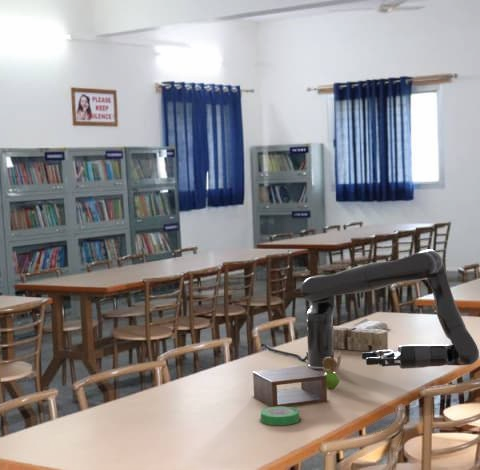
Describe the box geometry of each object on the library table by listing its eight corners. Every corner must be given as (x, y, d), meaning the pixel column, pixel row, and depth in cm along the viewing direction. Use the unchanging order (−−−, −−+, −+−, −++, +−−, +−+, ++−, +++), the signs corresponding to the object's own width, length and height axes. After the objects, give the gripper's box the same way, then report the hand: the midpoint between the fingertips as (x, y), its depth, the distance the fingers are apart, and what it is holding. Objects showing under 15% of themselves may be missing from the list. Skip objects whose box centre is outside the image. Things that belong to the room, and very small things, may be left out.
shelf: (254, 396, 299) (252, 371, 299) (305, 390, 304) (304, 365, 303) (272, 408, 284) (271, 381, 283) (327, 401, 288) (326, 375, 288)
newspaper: (353, 342, 379) (353, 333, 378) (325, 340, 386) (325, 331, 386) (389, 327, 406) (389, 319, 406) (362, 326, 414) (362, 318, 414)
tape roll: (289, 427, 263) (289, 417, 263) (254, 423, 269) (254, 414, 268) (305, 417, 272) (305, 408, 272) (271, 413, 278) (270, 404, 278)
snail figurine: (342, 390, 302) (341, 353, 301) (322, 390, 303) (320, 353, 302) (342, 386, 307) (341, 350, 306) (322, 386, 308) (321, 350, 308)
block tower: (391, 351, 361) (324, 343, 380) (391, 330, 360) (324, 322, 379) (381, 355, 355) (314, 346, 374) (381, 333, 354) (314, 325, 373)
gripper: (409, 340, 310) (359, 343, 311) (418, 349, 296) (367, 351, 296) (410, 363, 310) (360, 365, 311) (419, 372, 296) (368, 374, 297)
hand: (364, 358), depth 304 cm, fingers open, 8 cm apart
